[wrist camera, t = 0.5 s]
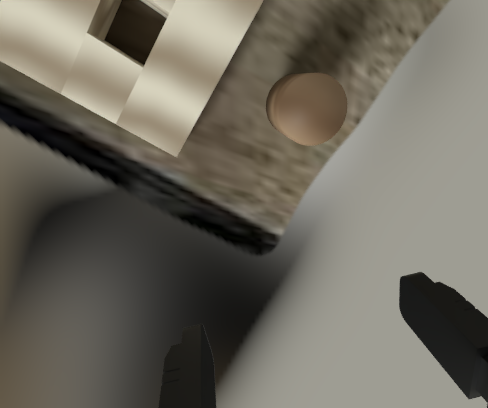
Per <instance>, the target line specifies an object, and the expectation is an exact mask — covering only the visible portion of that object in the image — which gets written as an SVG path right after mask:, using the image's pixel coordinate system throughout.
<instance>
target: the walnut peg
mask: <svg viewBox="0 0 488 408" xmlns="http://www.w3.org/2000/svg"><path fill="white" fill-rule="evenodd" d="M266 112H267V116H268V119H269V121H270V123H271V124H272V126H273V127H274V128H275V129H276V130H278V131H279V132H281V133H282V134H284V135H285V136H287V137H289V138H290V139H292V140H293V141H295V142H297V143H299V144H302V145H309V146H311V145H318V144H321V143H324V142H326V141H328V140H329V139H331V138H332V137H333V136H334V135H335V134H336V133H337V132H338V131H339V129H340V128H341V126H342V124H343V122H344V120H345V117H346V113H347V98H346V94H345V92H344V89H343V88H342V86H341V85H340V83H339V82H338V81H337V80H336V79H335V78H333V77H331V76H329V75H327V74H324V73H299V74H290V75H287V76H285V77H283V78H281V79H280V80H278V81H277V82H276V83H275V84H274V85H273V87H272V88H271V90H270V92H269V94H268V97H267V101H266Z"/></svg>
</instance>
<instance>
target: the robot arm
mask: <svg viewBox="0 0 488 408" xmlns="http://www.w3.org/2000/svg"><path fill="white" fill-rule="evenodd" d="M399 307H400V311H401V314H402V316H403V318H404V320H405V321H406V323H407V324H408V325H409V326H410V328H411V329H412V330H413V331H414V333H415V334H416V335H417V336H418V338H419V339H420V340H421V341H422V342H423V344H424V345H425V346H426V347H427V348H428V350H429V351H430V352H431V354H432V355H433V356H434V357H435V358H436V360H437V361H438V362H439V363H440V364H441V366H442V367H443V368H444V369H445V371H446V372H447V373H448V374H449V375H450V377H451V378H452V379H453V380H454V382H455V383H456V384H457V385H458V387H459V388H460V389H461V390H462V391H463V393H464V394H465V395H466V396H467V397H468V399H472V398H476V397H480V396H482V397H483V398H484V399H485V400H486V402H488V318H487V317H486V316H485V315H484V314H482V313H481V312H480V311H479V310H478V309H475V307H474V306H473V305H472V304H471V303H470V302H468V301H466V299H465V298H464V297H463V296H462V295H460V294H459V293H458V292H456V290H455V289H453V288H451V287H449V286H447V285H445V284H443V283H441V282H436V283H434V282H433V281H432V280H431V279H429V278H428V277H427V276H426V275H425V274H424V273H422V272H418V273H414V274H410V275H406V276H402V277H401V278H400V297H399ZM215 394H216V393H215V371H214V360H213V355H212V351H211V348H210V345H209V342H208V339H207V335H206V332H205V329H204V326H203V324H199V325H195V326H191V327H186V328H183V332H182V343H181V344H178V345H173V346H171V348H170V350H169V352H168V354H167V356H166V357H165V362H164V369H163V377H162V386H161V394H160V401H159V408H216V395H215ZM487 408H488V404H487Z"/></svg>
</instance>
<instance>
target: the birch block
mask: <svg viewBox="0 0 488 408" xmlns="http://www.w3.org/2000/svg"><path fill="white" fill-rule="evenodd" d="M121 1H122V0H1V1H0V61H1V62H3V63H5V64H7V65H9V66H11V67H12V68H14V69H16V70H18V71H20V72H22V73H23V74H25V75H27V76H29V77H31V78H33V79H34V80H36V81H38V82H40V83H42V84H43V85H45V86H47V87H49V88H51V89H53V90H54V91H56V92H58V93H60V94H62V95H64V96H65V97H67V98H69V99H71V100H73V101H75V102H76V103H78V104H80V105H82V106H84V107H86V108H87V109H89V110H91V111H93V112H95V113H97V114H98V115H100V116H102V117H104V118H106V119H107V120H109V121H111V122H113V123H115V124H117V125H118V126H120V127H122V128H124V129H126V130H128V131H129V132H131V133H133V134H135V135H137V136H139V137H140V138H142V139H144V140H146V141H148V142H150V143H151V144H153V145H155V146H157V147H159V148H161V149H162V150H164V151H166V152H168V153H170V154H171V155H173V156H175V157H177V155H178V153H179V152H180V150H181V148H182V146H183V144H184V143H185V141H186V139H187V137H188V135H189V134H190V132H191V130H192V128H193V127H194V125H195V123H196V121H197V119H198V118H199V116H200V114H201V112H202V110H203V109H204V107H205V105H206V103H207V101H208V100H209V98H210V96H211V94H212V92H213V91H214V89H215V87H216V85H217V83H218V82H219V80H220V78H221V76H222V74H223V73H224V71H225V69H226V67H227V65H228V64H229V62H230V60H231V58H232V56H233V55H234V53H235V51H236V49H237V47H238V46H239V44H240V42H241V40H242V38H243V37H244V35H245V33H246V31H247V29H248V28H249V26H250V24H251V22H252V20H253V19H254V17H255V15H256V13H257V11H258V10H259V8H260V6H261V4H262V2H263V1H264V0H140V1H142V2H143V3H145V4H146V5H148V6H149V7H151V8H152V9H153V10H155V11H156V12H158V13H159V14H161V15H162V16H164V17H165V18H167V20H166V22H165V24H164V26H163V28H162V30H161V32H160V34H159V36H158V38H157V40H156V42H155V44H154V46H153V48H152V50H151V53H150V55H149V57H148V59H147V61H146V63H145V65H143V64H142V63H140V62H138V61H137V60H135V59H134V58H132V57H130V56H129V55H127V54H126V53H124V52H122V51H121V50H119V49H118V48H116V47H114V46H113V45H111V44H110V43H108V42H106V41H105V37H106V35H107V33H108V31H109V28H110V26H111V24H112V22H113V19H114V17H115V15H116V13H117V10H118V8H119V6H120V4H121Z"/></svg>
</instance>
